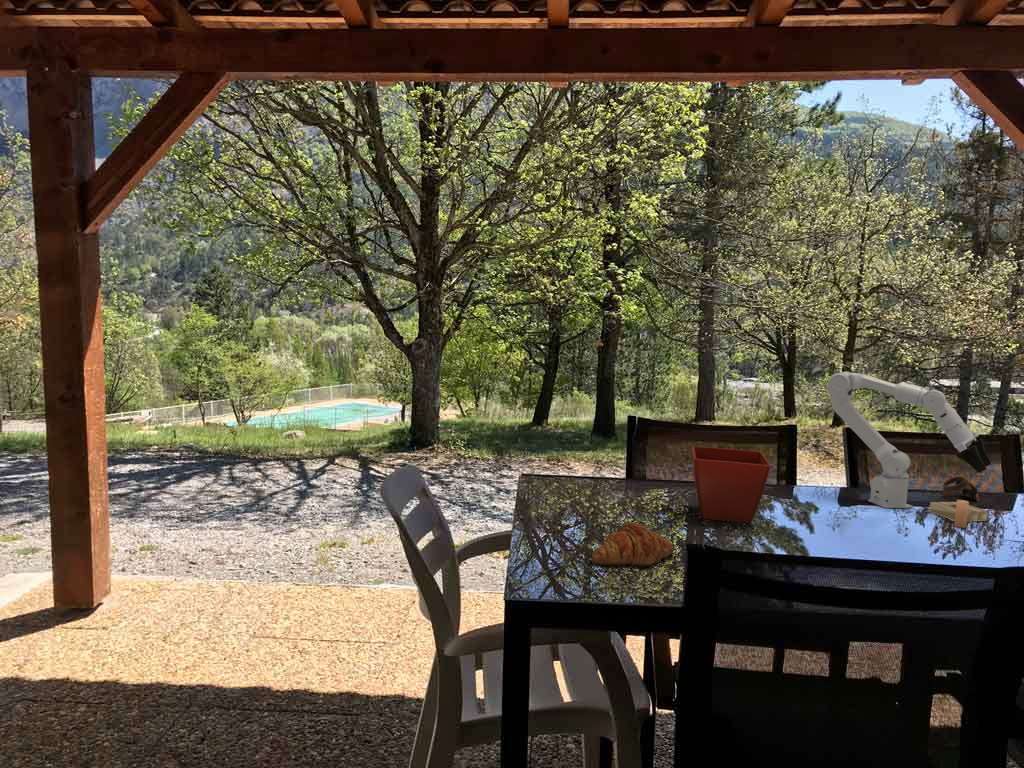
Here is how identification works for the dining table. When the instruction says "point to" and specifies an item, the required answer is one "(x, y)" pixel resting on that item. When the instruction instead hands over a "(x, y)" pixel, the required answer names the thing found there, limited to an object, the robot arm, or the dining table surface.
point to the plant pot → (729, 482)
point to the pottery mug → (960, 487)
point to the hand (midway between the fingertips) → (985, 468)
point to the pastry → (632, 547)
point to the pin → (961, 513)
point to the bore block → (950, 510)
